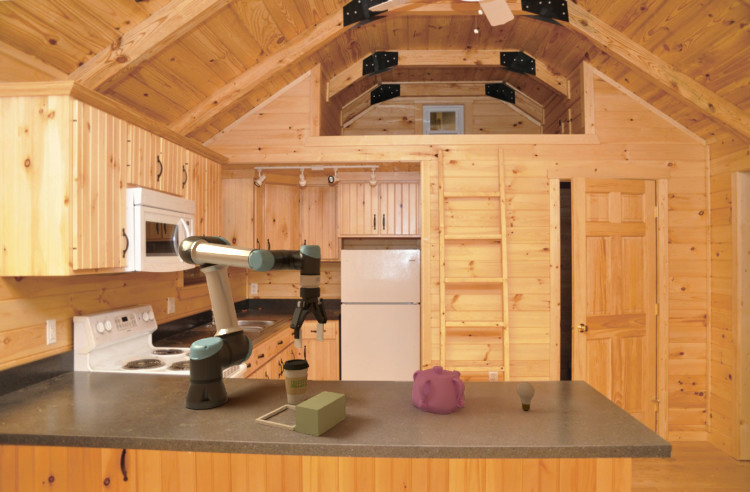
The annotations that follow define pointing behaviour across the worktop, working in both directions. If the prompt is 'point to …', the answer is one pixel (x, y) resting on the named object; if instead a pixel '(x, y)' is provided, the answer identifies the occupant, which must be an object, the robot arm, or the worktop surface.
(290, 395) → the coffee cup
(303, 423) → the green block with frame
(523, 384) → the light bulb
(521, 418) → the worktop surface
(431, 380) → the pink pot with handles
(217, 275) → the robot arm
